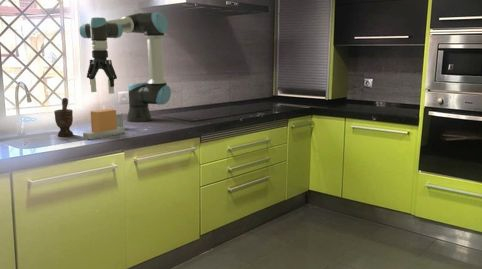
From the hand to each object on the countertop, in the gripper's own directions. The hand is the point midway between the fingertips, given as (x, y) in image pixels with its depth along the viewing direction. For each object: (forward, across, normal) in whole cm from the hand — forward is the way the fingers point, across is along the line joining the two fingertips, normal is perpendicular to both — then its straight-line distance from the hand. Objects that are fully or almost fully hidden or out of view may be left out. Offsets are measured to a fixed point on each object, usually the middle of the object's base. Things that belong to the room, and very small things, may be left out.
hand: (102, 92), depth 222 cm
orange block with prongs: (+22, 0, 0) cm, 22 cm away
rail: (+22, 0, 0) cm, 22 cm away
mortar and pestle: (+22, -16, -11) cm, 30 cm away
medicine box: (+22, -12, +17) cm, 30 cm away
